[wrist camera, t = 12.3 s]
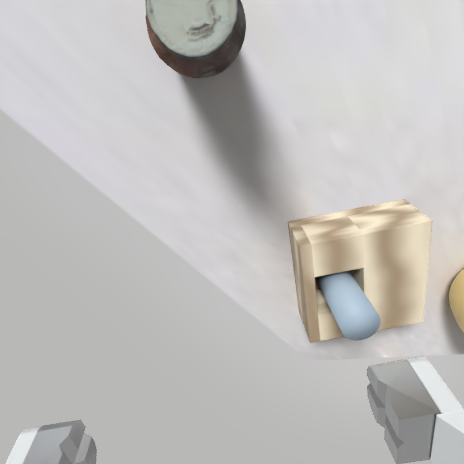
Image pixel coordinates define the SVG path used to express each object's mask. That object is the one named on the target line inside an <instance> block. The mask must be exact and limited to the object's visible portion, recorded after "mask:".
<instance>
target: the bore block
mask: <svg viewBox="0 0 464 464" xmlns="http://www.w3.org/2000/svg"><path fill="white" fill-rule="evenodd" d="M288 226H289V234H290V242H291V250H292V258H293V266H294V274H295V282H296V290H297V298H298V306H299V312H300V315H301V318H302V321H303V323H304V326H305V329H306V332H307V335H308V338H309V340H310V343H313V342H318V341H323V340H329V339H334V338H340V337H345V336H344V335H343V333H342V332H341V330H340V328H339V326H338V324H337V322H336V320H335V318H334V316H333V314H332V312H331V310H330V308H329V306H328V304H327V302H326V299H325V297H324V295H323V293H322V291H321V289H320V287H319V285H318V283H317V281H316V279H315V277H318V276H323V275H328V274H333V273H339V272H344V271H350V273H351V274H352V276H353V277H354V279H355V280H356V282H357V283H358V285H359V286H360V288H361V289H362V291H363V292H364V294H365V295H366V297H367V298H368V299H369V301H370V302H371V304H372V305H373V307H374V308H375V310H376V311H377V313H378V314H379V316H380V319H381V323H380V327H379V329H378V330H383V329H388V328H393V327H399V326H404V325H409V324H415V323H420V322H423V321H424V310H425V299H426V288H427V277H428V266H429V255H430V244H431V232H432V220H431V219H429V218H428V217H427V216H425V215H424V214H423V213H421V212H420V211H419V210H417V209H416V208H415V207H414V206H412V205H411V204H410V203H408V202H407V201H406V200H404V199H402V200H397V201H392V202H387V203H382V204H377V205H372V206H367V207H362V208H356V209H351V210H346V211H341V212H336V213H331V214H326V215H321V216H316V217H311V218H305V219H300V220H295V221H290V222H288Z"/></svg>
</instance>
